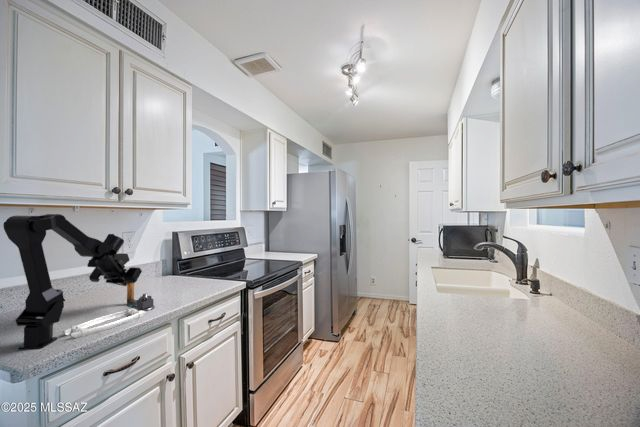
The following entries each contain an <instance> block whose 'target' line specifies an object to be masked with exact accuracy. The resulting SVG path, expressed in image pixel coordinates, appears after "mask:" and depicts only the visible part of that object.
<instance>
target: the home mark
mask: <svg viewBox="0 0 640 427" xmlns="http://www.w3.org/2000/svg"><path fill="white" fill-rule="evenodd" d="M126 306H127V307H130V308H131V307H137V305H135V304H126Z"/></svg>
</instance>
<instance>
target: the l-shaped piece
mask: <svg viewBox="0 0 640 427" xmlns="http://www.w3.org/2000/svg"><path fill="white" fill-rule="evenodd" d="M152 297H153V296H152V295H148V297H147V298H145V301H143V295H142V296H141V295H140V297H138V299H135V283H127V285H126V305H129V304H135V305H136V308H137V307H138V308H141V309H145V308H148V307H152V306H153V305H154V298H152Z"/></svg>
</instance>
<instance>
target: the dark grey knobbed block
mask: <svg viewBox="0 0 640 427" xmlns="http://www.w3.org/2000/svg"><path fill="white" fill-rule="evenodd" d="M142 296H143V301H145V298H147V297H148V296H149V294H148V293H143V294H142ZM155 308H156V307H155V305H154V304H153V306H152V307H148V308H145V309H141V308H138V307H137V306H136V307H135V308H134V309H136V310H138V311H140V310H142V311H145V312H148V311H151V310H154V309H155Z"/></svg>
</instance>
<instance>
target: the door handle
mask: <svg viewBox="0 0 640 427" xmlns="http://www.w3.org/2000/svg"><path fill="white" fill-rule="evenodd" d="M146 312H147V311H142V310H140V311H138V310H136V309H135V308H131V307H130V308H128V309H126V310H122V311H118V312H113V313H111V314H106V315H103V316H100V317H96V318H94V319H91V320H89V321H85V322H82V323H80V324H75V325H72V326H71V327H70V328H68V329H65V330H64V331H63V332H62V333H63V335H65V336H71V337H72V338H75V339H78V338H84V337H87V335H88V336H90V334H91V335H93V334H98V333H100V332H101V333H102V332H104V330H105V331H107V329H108V330H111V329H114V328H117V327H120V326H122V324H123V325H125V324H128V323H130V322H132V321H135V320H137V319H140V318H142V317H143V316H145V315H146V314H147V313H146ZM126 316H127V317H126ZM121 317H124V318H121ZM118 318H121V319H118ZM114 319H118V320H115V321H112V322H108V323H106V324H101V323H104V322H107V320H108V321H110V320H114ZM98 324H101V325H99V326H98ZM95 325H97V326H95ZM89 326H90V327H91V328H89ZM92 326H95V327H92ZM83 336H84V337H83Z"/></svg>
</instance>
